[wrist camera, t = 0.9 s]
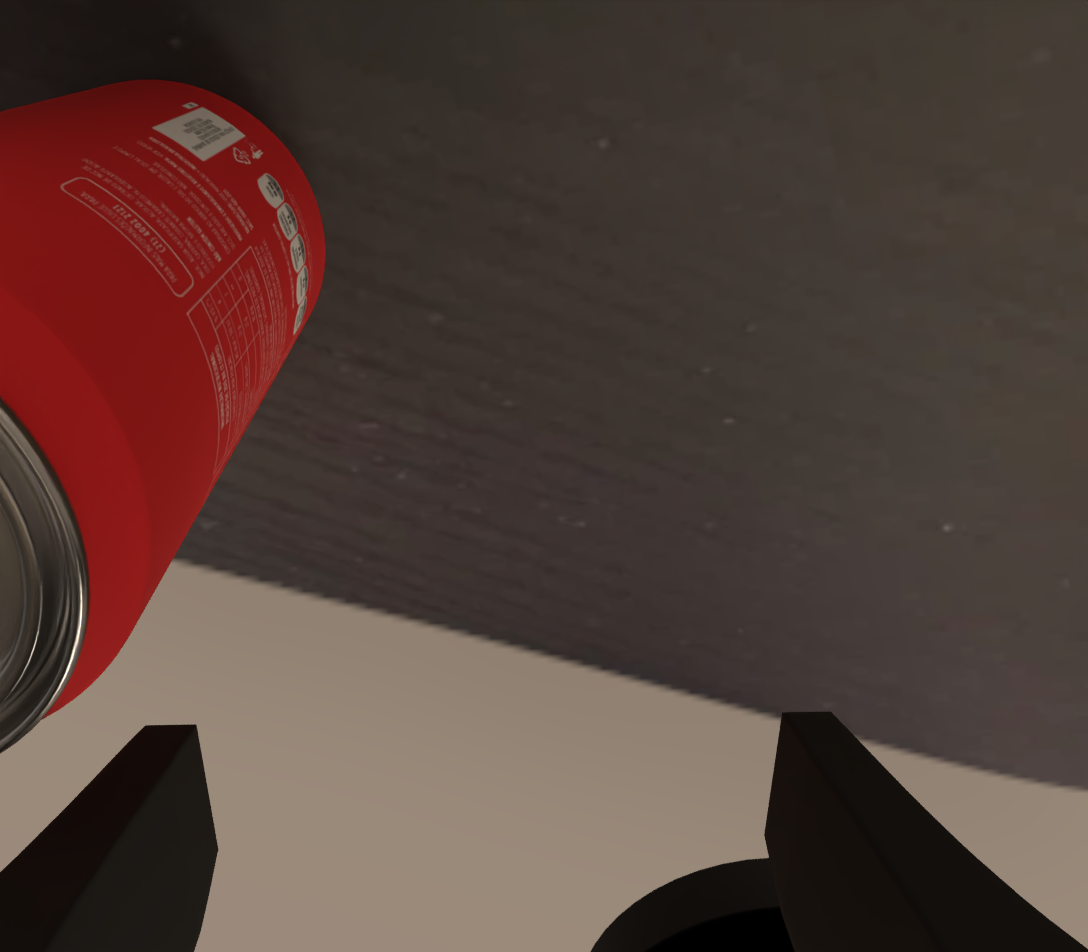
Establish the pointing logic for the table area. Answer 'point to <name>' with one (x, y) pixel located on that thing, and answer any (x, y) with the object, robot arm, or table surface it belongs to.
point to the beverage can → (129, 353)
